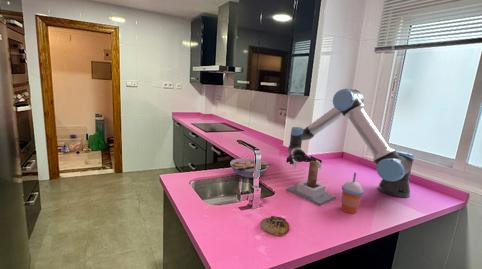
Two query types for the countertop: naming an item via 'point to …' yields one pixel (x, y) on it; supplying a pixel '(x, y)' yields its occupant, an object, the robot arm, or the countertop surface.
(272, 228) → the bread roll
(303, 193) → the socket
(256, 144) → the countertop surface
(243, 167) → the ramen bowl
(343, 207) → the cup with straw
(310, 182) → the peg
